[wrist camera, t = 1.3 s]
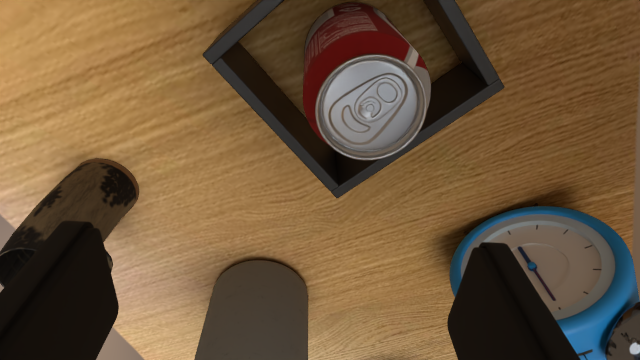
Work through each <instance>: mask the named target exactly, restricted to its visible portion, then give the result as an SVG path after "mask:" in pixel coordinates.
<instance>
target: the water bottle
mask: <svg viewBox="0 0 640 360" xmlns="http://www.w3.org/2000/svg"><path fill="white" fill-rule="evenodd" d="M194 360H308V293H307V289H306V286H305V284H304V282H303V281H302V279H301V278H300V277H299V276H298V275H297V274H296V273H295V272H294V271H292V270H291V269H289V268H288V267H286V266H284V265H281V264H278V263H276V262H271V261H265V260H254V261H246V262H243V263H239V264H237V265H235V266H233V267H231V268H229V269H228V270H227V271H225V272H224V273H223V274H222V275H221V276H220V277H219V278H218V280H217V282H216V284H215V286H214V288H213V292H212V296H211V299H210V303H209V307H208V311H207V314H206V318H205V322H204V326H203V329H202V333H201V337H200V340H199V344H198V348H197V352H196V355H195V359H194Z"/></svg>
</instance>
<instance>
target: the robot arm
mask: <svg viewBox="0 0 640 360" xmlns="http://www.w3.org/2000/svg"><path fill="white" fill-rule="evenodd" d="M118 307H119V306H118V300H117V296H116V292H115V288H114V284H113V280H112V276H111V272H110V268H109V264H108V260H107V256H106V252H105V248H104V243H103V239H102V235H101V232H100V230H99V229H98V228H94V226H93V224H92V223H91V222H86V221H67V220H65V221H62V222H61V223H60V224H59V225H58V226H57V227H56V229H55V230H54V231H53V232H52V233H51V234H50V236H49V237H48V238H47V239H46V240H45V242H44V243H43V244H42V245H41V246H40V247H39V249H38V250H37V251H36V252H35V253H34V254H33V256H32V257H31V258H30V259H29V260H28V262H27V263H26V264H25V265H24V266H23V267H22V269H21V270H20V271H19V272H18V273H17V274H16V276H15V277H14V278H13V279H12V280H11V281H10V282H9V283H8V284H7V285H6V286H5V288H4V289H3V290H2V291H1V292H0V360H96V358H97V356H98V354H99V352H100V350H101V348H102V346H103V344H104V342H105V340H106V338H107V336H108V334H109V332H110V330H111V328H112V326H113V324H114V322H115V320H116V318H117V315H118ZM448 331H449V334H450V337H451V340H452V343H453V346H454V349H455V352H456V355H457V357H458V360H581V359H580V358H579V356H578V355H577V353H576V352H575V350H574V348H573V347H572V345H571V344H570V342H569V340H568V339H567V337H566V336H565V334H564V332H563V331H562V329H561V328H560V326H559V324H558V323H557V321H556V320H555V318H554V317H553V315H552V313H551V312H550V310H549V309H548V307H547V305H546V304H545V303H544V302H543V300H542V299H541V297H540V295H539V294H538V292H537V291H536V289H535V287H534V286H533V284H532V283H531V281H530V279H529V278H528V276H527V275H526V273H525V271H524V270H523V268H522V267H521V265H520V263H519V262H518V260H517V259H516V257H515V255H514V254H513V252H512V251H511V249H510V248H509V246H508V245H507V244H505V243H493V242H482V243H481V244H480V245H479V247H475V248H473V250H472V252H471V255H470V257H469V260H468V263H467V266H466V269H465V271H464V274H463V277H462V280H461V283H460V286H459V288H458V291H457V294H456V297H455V300H454V302H453V305H452V308H451V311H450V314H449V316H448Z"/></svg>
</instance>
